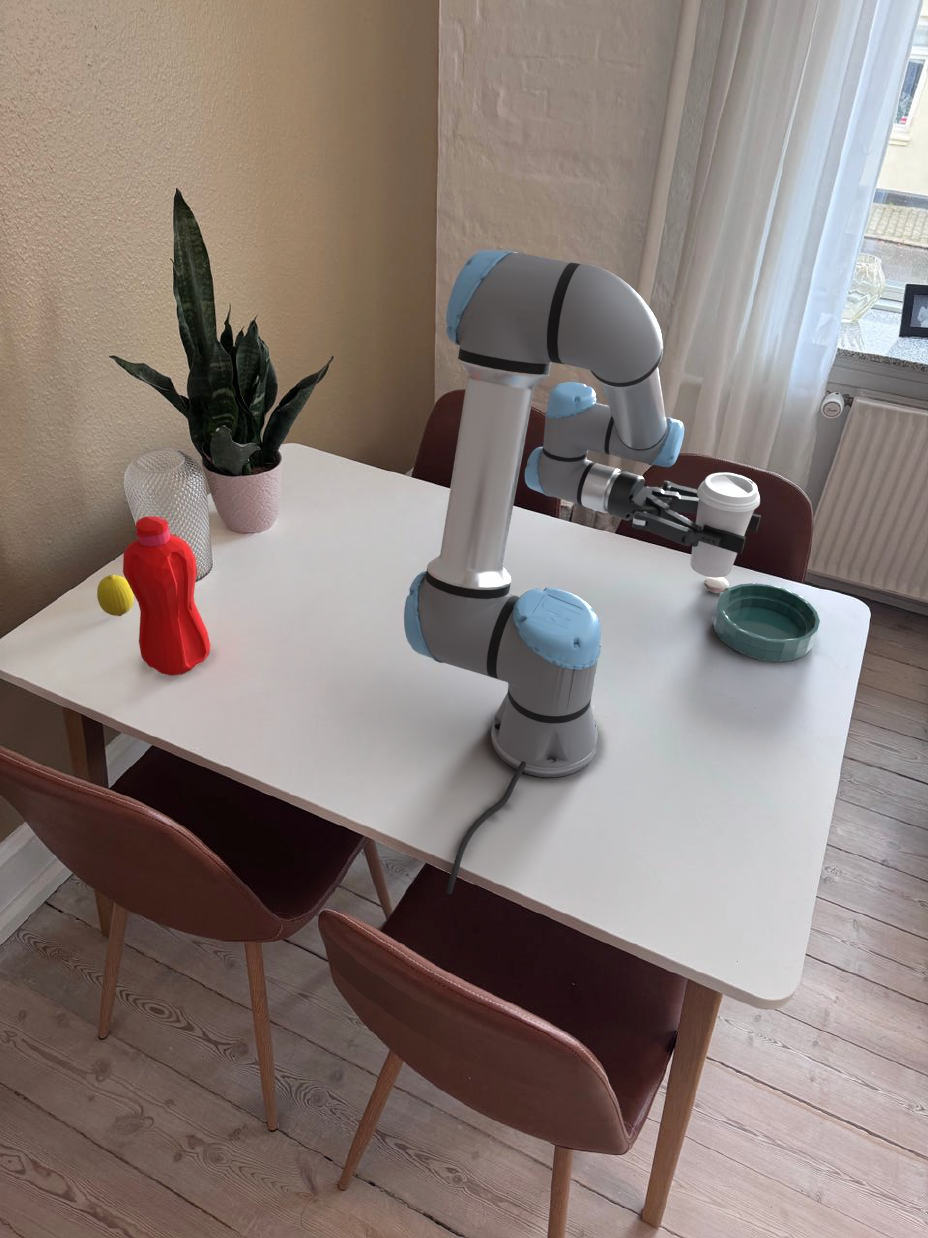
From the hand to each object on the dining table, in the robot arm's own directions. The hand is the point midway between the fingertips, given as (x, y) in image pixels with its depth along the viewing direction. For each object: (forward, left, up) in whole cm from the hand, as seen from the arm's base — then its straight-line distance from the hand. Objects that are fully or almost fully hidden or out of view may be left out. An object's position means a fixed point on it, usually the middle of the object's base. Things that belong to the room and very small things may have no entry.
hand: (750, 534), depth 143 cm
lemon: (-67, +76, -20) cm, 103 cm away
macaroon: (+11, +8, -20) cm, 25 cm away
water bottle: (-66, +60, -20) cm, 91 cm away
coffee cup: (-1, +5, -8) cm, 10 cm away
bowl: (+5, -4, -20) cm, 21 cm away
